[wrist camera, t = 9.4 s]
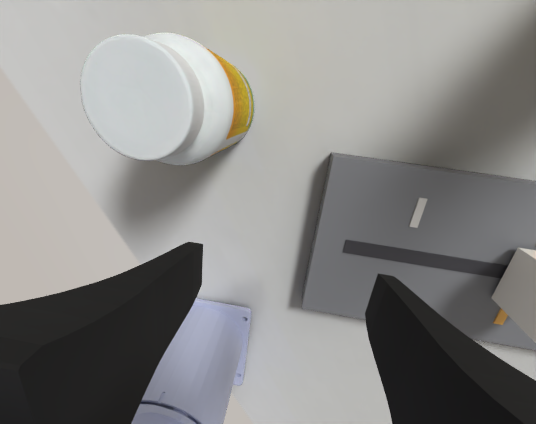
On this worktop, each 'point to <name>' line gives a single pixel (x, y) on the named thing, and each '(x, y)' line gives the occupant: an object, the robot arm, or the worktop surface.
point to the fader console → (420, 241)
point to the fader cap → (519, 291)
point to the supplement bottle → (164, 98)
